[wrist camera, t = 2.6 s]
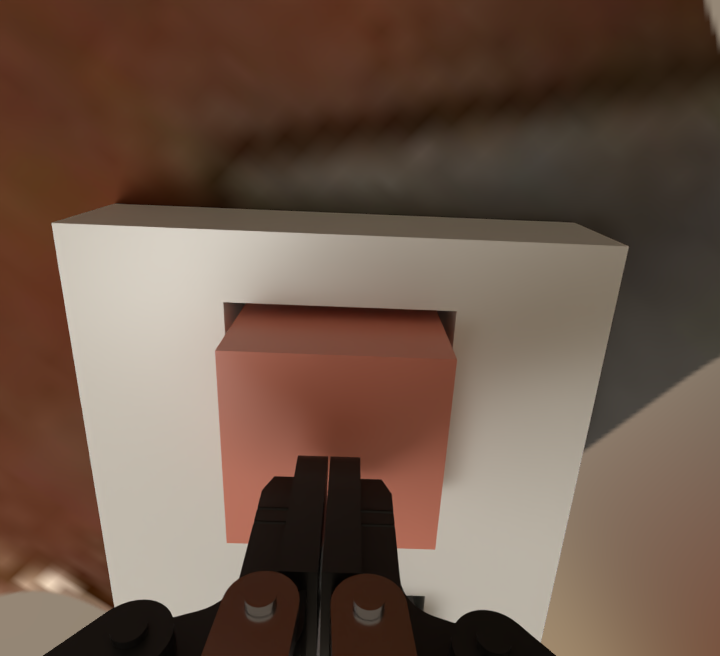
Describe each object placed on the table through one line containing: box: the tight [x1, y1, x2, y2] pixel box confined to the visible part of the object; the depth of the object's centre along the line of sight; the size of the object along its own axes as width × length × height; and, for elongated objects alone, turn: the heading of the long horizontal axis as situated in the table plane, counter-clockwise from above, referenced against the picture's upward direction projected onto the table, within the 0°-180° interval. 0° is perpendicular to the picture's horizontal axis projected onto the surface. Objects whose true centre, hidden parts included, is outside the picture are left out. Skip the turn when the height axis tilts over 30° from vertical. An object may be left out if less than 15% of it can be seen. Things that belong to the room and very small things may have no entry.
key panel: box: [52, 204, 629, 643], centre depth 20 cm, size 16×22×4 cm
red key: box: [215, 303, 457, 550], centre depth 16 cm, size 6×6×4 cm
